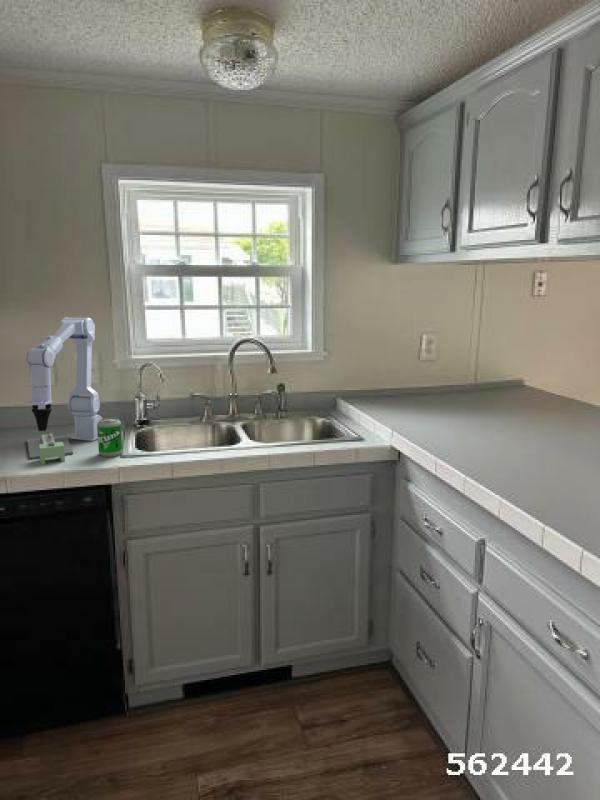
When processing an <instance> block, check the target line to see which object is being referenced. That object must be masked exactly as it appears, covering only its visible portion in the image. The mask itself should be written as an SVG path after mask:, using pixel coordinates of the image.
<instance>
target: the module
mask: <svg viewBox="0 0 600 800" xmlns="http://www.w3.org/2000/svg"><path fill="white" fill-rule="evenodd" d="M39 450H40V458H39V459H40V460H41V461H40V464H41V465H44V464H43V463H45V464H46V459H47V458H56V457H58V458H59V459H60V462H61V461H63V462H66V455H65V453H64V445H63V442H56V443H54V442H51V443H46V444H39Z"/></svg>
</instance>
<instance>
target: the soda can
mask: <svg viewBox="0 0 600 800" xmlns="http://www.w3.org/2000/svg"><path fill="white" fill-rule="evenodd" d="M121 422H122V421H121V420H119V418H117V417H102V419H100V420H99V422H98V423H97V433H98V439H97V445H98V448H97V449H98V454H100V455H101V456H102V457H104V458H105V457H106V458H113V457H116V456H117V457H118V456H119V455H120V454H121V453H122V451H123V438H122V437H123V436H122V435H123V434H122V423H121Z"/></svg>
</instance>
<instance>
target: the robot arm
mask: <svg viewBox="0 0 600 800" xmlns="http://www.w3.org/2000/svg"><path fill="white" fill-rule="evenodd" d="M59 325H60V326H59V327H58V329H57V330H56V332H55V333H54V335H47V336H45V339H43V340H42V342H40V343H39V344H38V345H37V346H36V347H31V348H30V349H29V350H28V351H27V352H26V357H25V361H26V364H27V366H28V371H29V372H30V390H31V391H30V392H31V393H30V395H31V397H30V398H31V399H28V400H26V401H27V404H33V405H32V406H31V407H32V408H31V411H32V414H33V415H34V419H35V422H36V426H37V429H38V432H46V431H47V428H48V423H49V417H50V415H51V412H52V410H53V409H52V403H53V400H52V385H51V384H52V379H51V377H52V376H51V373H52V371H51V367H52V366H53V365H54V363H55V359H56V358H57V356H56V355H57V354H59V352H60V351H61V350H62V349H63V347H64V344H63V343H64V342H65V341H67V340H68V339H69V340H71V341H73V342H74V344H75V345H76V363H75V366H76V367H75V369H76V370H75V372H76V373H75V374H76V375H75V388H74V389H72V390H71V391H70V392H69V396H68V401H67V408H68V410H69V412H70V413H71V416H73V418H74V431H75V432H74V433H75V435H73V436H71V437H70V440H78V441H79V440H80V441H89V442H94V441H96V440H98V433H97V423H98V422H99V420H100V419H103V417H102V416H101V415H99V414H97V413H98V412H99V410H100V406H101V402H100V399H99V393H98V392H97V391H96V390H94V388H92V357H93V356H92V355H93V353H92V350H93V349H92V346H93V342H94V341H95V340H96V339H95V338H96V337H95V336H96V335H95V334H96V331H95V330H96V324H95V323H94V320H93V319H92V318H91V317H67V316H65V317H63V318H62V320H60V324H59Z"/></svg>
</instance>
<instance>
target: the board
mask: <svg viewBox="0 0 600 800" xmlns="http://www.w3.org/2000/svg"><path fill="white" fill-rule="evenodd" d="M26 442H27V447H28V448H27V449H28V455H29V460H37V459H36V458H38V459H40V450H39V444H46V443H51V442H54V443H56V442H63V445H64V453H65V456H68V455H69V454H72V455H74V452H73V450H72V446H71V443H70V441H69V439H68V436H67V435H59V436H54V435H53V433H45V434H41V438H39V437H38V438H31V439H29V438H28V439H27V440H26ZM69 456H70V455H69Z"/></svg>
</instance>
